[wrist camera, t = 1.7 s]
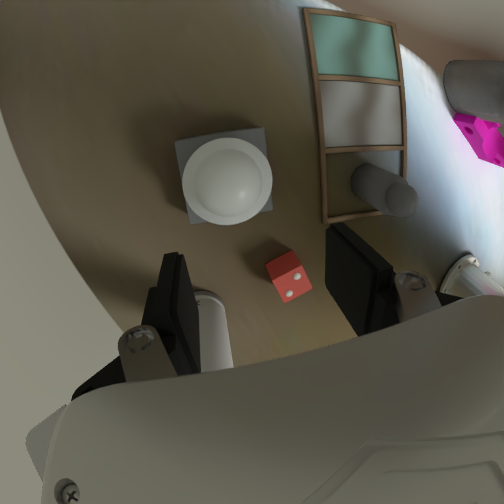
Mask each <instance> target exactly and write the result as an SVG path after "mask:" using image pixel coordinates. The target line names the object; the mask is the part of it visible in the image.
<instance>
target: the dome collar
mask: <svg viewBox="0 0 504 504" xmlns="http://www.w3.org/2000/svg"><path fill="white" fill-rule="evenodd" d="M219 138H237V139H241V140H244V141H246V142H249V143H251V144H252V145H254V146H255V147H257V148H258V149H259V150H260V151H261V152H262V153H263V154H264V156H265V157H266V159H267V161H268V157H267V148H266V139H265V131H264V128H263V127H253V128H245V129H237V130H230V131H223V132H217V133H211V134H205V135H199V136H194V137H189V138H184V139H179V140H176V141H175V142H174V144H175V150H176V155H177V161H178V166H179V172H180V177H181V182H182V178H183V173H184V169H185V166H186V164H187V162H188V160H189V159H190V157H191V156H192V154H193V153H194V152H195V151H196V150H197V149H198V148H199V147H201V146H202V145H204V144H205V143H207V142H209V141H212V140H215V139H219ZM184 197H185V196H184ZM185 202H186V207H187V212H188V216H189V221H190V225H193V224H198V223H203V222H208V221H206V220H204V219H202V218H201V217H200V216H198V215H197V214H196V213H195V212H194V211H193V210H192V209H191V208H190V206H189V205H188V203H187V201H186V199H185ZM267 211H273V206H272V196H271V193H270V196H269V198H268V200H267V202H266V204H265V205H264V206H263V208H262V209H261V210H260V211H259V212H258V213H261V212H267Z"/></svg>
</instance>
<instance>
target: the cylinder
mask: <svg viewBox="0 0 504 504" xmlns="http://www.w3.org/2000/svg"><path fill="white" fill-rule="evenodd" d="M351 189H352V191H353V193H354V194H355V196H357V197H358V198H360V199H361V200H363V201H365V202H366V203H368V204H369V205H371V206H373V207H374V208H376V209H377V210H379V211H380V212H382V213H384V214H385V215H388V216H394V215H395V216H397V217H400V218H405V217H409V216H411V215H412V214H413V213H414V212H415V211H416V209H417V207H418V195H417V193H416V191H415V190H414V188H413V187H411V186H410V185H408V183H407V181H406V180H405V179H404V178H403V177H401V176H399V175H396V174H394V173H391V172H389V171H386V170H384V169H381V168H379V167H376V166H373V165H371V164H364V165H361V166H359V167H358V168H357V169H356V170H355V171H354V173H353V175H352V177H351Z"/></svg>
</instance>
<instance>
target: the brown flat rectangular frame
mask: <svg viewBox="0 0 504 504" xmlns="http://www.w3.org/2000/svg"><path fill="white" fill-rule="evenodd" d="M302 11H303V17H304V23H305V28H306V35H307V41H308V48H309V55H310V62H311V70H312V78H313V87H314V96H315V106H316V117H317V129H318V142H319V157H320V176H321V202H322V223H323V224H327V223H333V222H340V221H346V220H352V219H358V218H364V217H371V216H377V215H383V214H384V213H382V212H380V211H379V210H373V211H367V212H360V213H353V214H347V215H340V216H334V217H328V207H327V173H326V154H327V153H341V152H358V151H386V150H402V158H401V177H403V178H404V179H405V180H406V171H407V121H406V102H405V89H404V78H403V69H402V61H401V54H400V47H399V41H398V35H397V30H396V25H395V23H392V22H389V21H385V20H381V19H376V18H372V17H366V16H362V15H356V14H351V13H344V12H338V11H330V10H321V9H311V8H303V9H302ZM317 14H319V15H317ZM327 15H328V16H327ZM336 16H337V17H336ZM343 17H344V18H343ZM361 20H362V21H361ZM381 24H382V25H381ZM385 25H386V26H385ZM340 75H344V76H340ZM355 76H358V77H355ZM367 77H369V78H367ZM376 78H378V79H376ZM385 79H387V80H385ZM319 80H338V81H319ZM392 80H394V81H392ZM346 81H356V82H346ZM361 82H368V83H361ZM373 83H378V84H373ZM383 84H387V85H383ZM391 85H395V86H391ZM398 86H399V87H398ZM362 145H384V146H362ZM340 146H351V147H340ZM325 147H333V148H325Z"/></svg>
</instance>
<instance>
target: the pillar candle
mask: <svg viewBox="0 0 504 504" xmlns="http://www.w3.org/2000/svg"><path fill="white" fill-rule="evenodd" d="M443 76H444V77H443V83H444V87H445V90H446V93H447V97H448V100H449V103H450V105H451V106H452V108H453V109H454V110H455V111H456V112H457V113H460V114H466V115H471V116H476V117H478V118H479V119H481V120H485V121H490V122H495V123H500V124H504V61H492V60H454V61H450V62H449V63H448V64H447V65H446V67H445V71H444V75H443Z"/></svg>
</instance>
